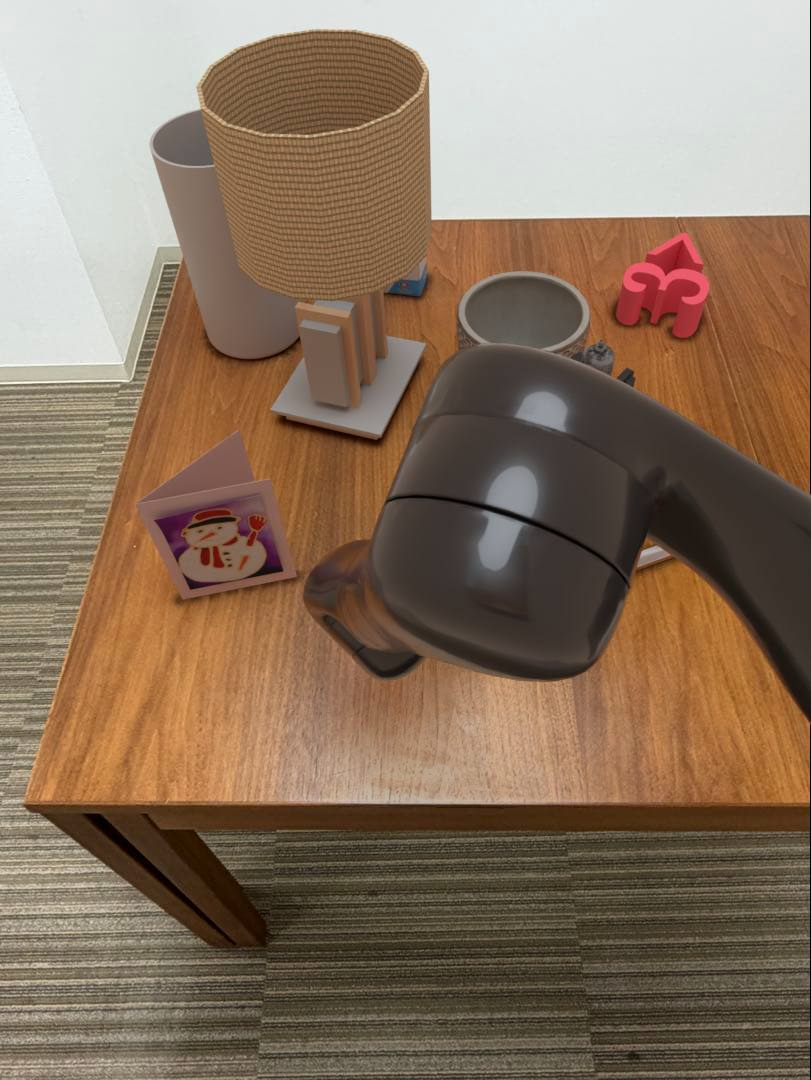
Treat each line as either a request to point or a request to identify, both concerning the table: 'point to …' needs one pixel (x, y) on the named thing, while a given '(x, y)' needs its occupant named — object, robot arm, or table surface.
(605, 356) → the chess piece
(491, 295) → the planter
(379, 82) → the desk lamp
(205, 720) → the table surface
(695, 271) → the letters
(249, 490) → the greeting card
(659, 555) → the fork
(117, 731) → the table surface
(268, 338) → the cylinder vase
